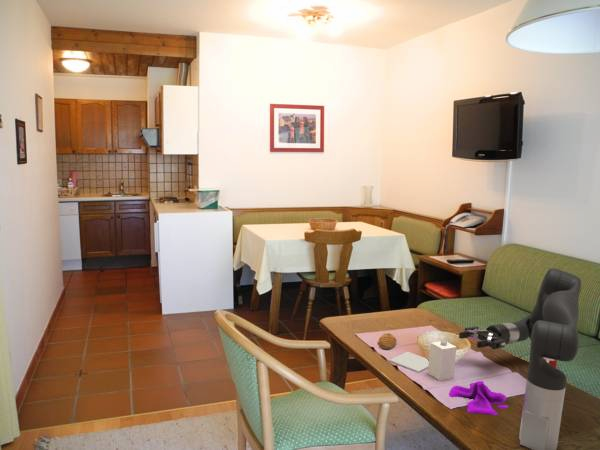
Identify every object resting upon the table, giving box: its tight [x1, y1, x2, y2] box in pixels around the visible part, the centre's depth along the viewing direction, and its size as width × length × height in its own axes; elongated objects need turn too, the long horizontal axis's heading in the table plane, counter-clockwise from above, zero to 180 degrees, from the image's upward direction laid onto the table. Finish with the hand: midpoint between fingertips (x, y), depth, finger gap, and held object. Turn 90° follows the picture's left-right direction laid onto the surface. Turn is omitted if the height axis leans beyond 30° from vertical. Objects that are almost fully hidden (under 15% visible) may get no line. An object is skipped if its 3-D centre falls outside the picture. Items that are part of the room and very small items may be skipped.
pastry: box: [378, 332, 398, 350], centre depth 199 cm, size 9×7×4 cm
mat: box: [388, 351, 429, 373], centre depth 185 cm, size 12×12×1 cm
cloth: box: [448, 380, 509, 416], centre depth 161 cm, size 22×19×6 cm
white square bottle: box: [427, 340, 457, 381], centre depth 174 cm, size 6×6×12 cm
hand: (468, 340), depth 179 cm, fingers open, 8 cm apart
